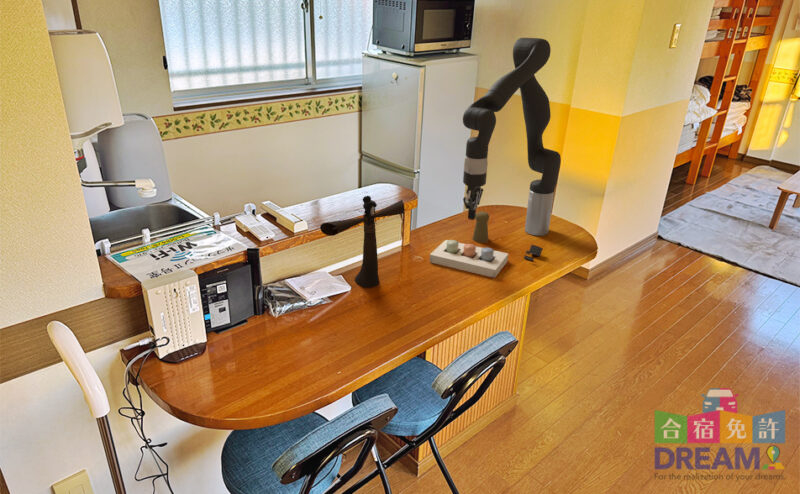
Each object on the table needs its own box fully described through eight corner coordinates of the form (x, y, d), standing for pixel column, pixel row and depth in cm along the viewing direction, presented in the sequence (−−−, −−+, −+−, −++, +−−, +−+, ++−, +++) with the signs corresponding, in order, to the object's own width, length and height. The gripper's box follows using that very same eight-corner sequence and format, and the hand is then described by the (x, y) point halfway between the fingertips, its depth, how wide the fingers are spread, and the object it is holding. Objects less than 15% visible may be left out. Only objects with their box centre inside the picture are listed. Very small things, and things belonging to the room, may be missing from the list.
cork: (469, 237, 212) (471, 211, 207) (482, 234, 214) (484, 208, 209) (477, 243, 207) (480, 216, 202) (491, 240, 209) (493, 214, 205)
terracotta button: (465, 253, 195) (466, 242, 193) (476, 255, 193) (477, 245, 192) (461, 257, 192) (461, 247, 190) (472, 260, 190) (473, 249, 188)
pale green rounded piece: (448, 249, 198) (449, 239, 196) (459, 251, 196) (460, 241, 194) (444, 253, 194) (444, 243, 193) (455, 256, 193) (455, 245, 191)
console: (445, 247, 204) (445, 239, 203) (507, 261, 194) (508, 253, 193) (429, 262, 193) (429, 254, 191) (494, 277, 183) (495, 269, 181)
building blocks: (542, 248, 198) (534, 245, 191) (537, 262, 198) (528, 259, 192) (535, 245, 200) (526, 242, 193) (530, 259, 200) (520, 257, 194)
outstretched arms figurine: (334, 303, 167) (330, 211, 154) (317, 290, 174) (312, 202, 161) (411, 272, 186) (413, 188, 173) (393, 262, 192) (394, 180, 179)
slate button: (482, 256, 192) (483, 246, 191) (494, 259, 191) (495, 249, 189) (478, 261, 189) (479, 251, 187) (490, 264, 187) (491, 253, 185)
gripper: (471, 163, 186) (468, 210, 193) (457, 173, 175) (453, 223, 183) (493, 166, 183) (488, 214, 190) (479, 177, 172) (475, 227, 179)
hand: (471, 218), depth 186 cm, fingers closed
